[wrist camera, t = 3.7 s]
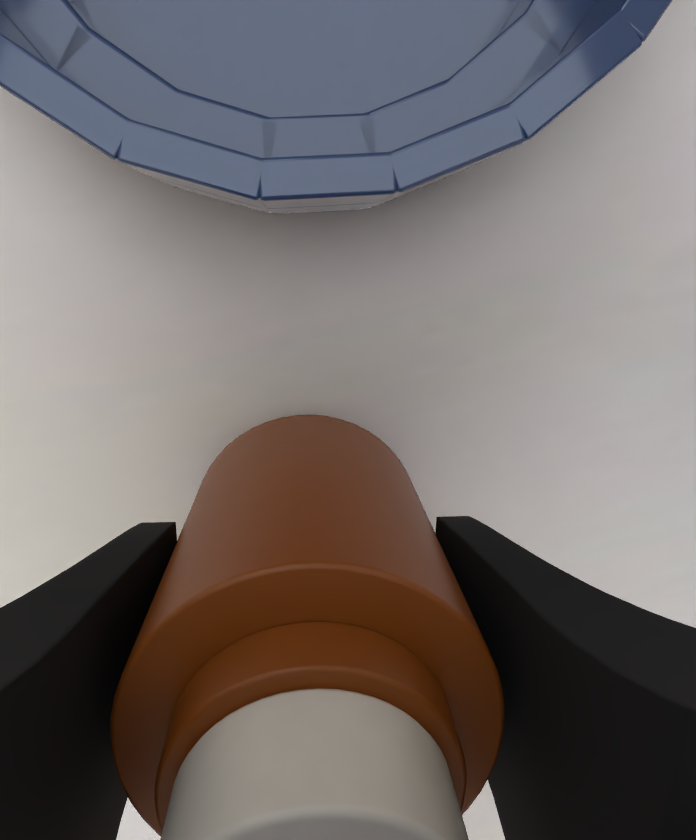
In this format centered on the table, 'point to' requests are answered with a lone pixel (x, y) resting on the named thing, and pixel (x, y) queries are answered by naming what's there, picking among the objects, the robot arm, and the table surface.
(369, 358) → the table surface
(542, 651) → the robot arm
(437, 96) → the bowl
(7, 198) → the table surface
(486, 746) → the bottle
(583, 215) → the table surface
